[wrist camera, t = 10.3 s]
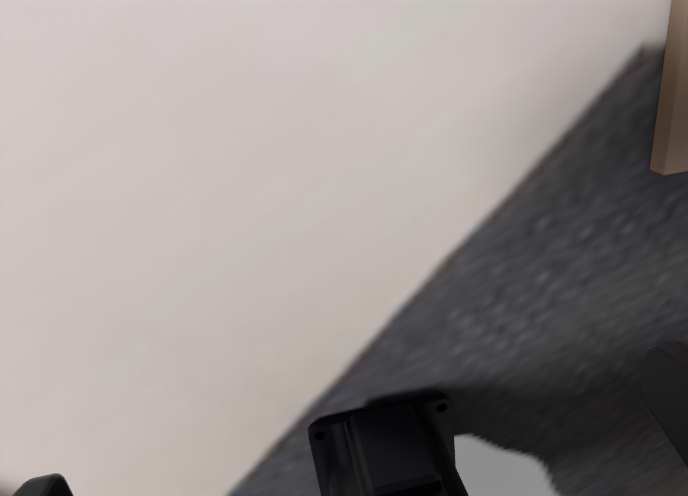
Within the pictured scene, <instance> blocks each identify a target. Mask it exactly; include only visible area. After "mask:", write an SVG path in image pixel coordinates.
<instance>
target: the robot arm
mask: <svg viewBox="0 0 688 496" xmlns="http://www.w3.org/2000/svg"><path fill="white" fill-rule="evenodd" d="M640 391H641V394H642V397H643V399H644V401H645V403H646V404H647V406H648V407H649V409H650V410H651V412H652V413H653V415H654V416H655V418H656V420H657V421H658V423H659V424H660V426H661V427H662V429H663V430H664V432H665V433H666V435H667V436H668V438H669V439H670V441H671V442H672V444H673V445H674V447H675V448H676V450H677V451H678V453H679V454H680V456H681V457H682V459H683V460H684V462H685V464H686V465H687V467H688V345H686V344H684V343H681V342H677V341H668V342H663V343H659V344H654V345H651V346H649V347H648V349H647V350H646V352H645V357H644V363H643V369H642V375H641V381H640ZM439 404H442V405H441V406H438V405H439ZM317 432H323V433H320V434H316V433H317ZM308 435H309V441H310V445H311V450H312V455H313V459H314V464H315V468H316V473H317V478H318V482H319V487H320V492H321V496H468V493H467V491H466V489H465V487H464V485H463V483H462V480H461V478H460V476H459V474H458V472H457V469H456V467H455V449H454V428H453V409H452V403H451V401H450V399H449V397H448V396H447V395H446V394H443V393H438V394H434V395H429V396H425V397H420V398H416V399H412V400H407V401H403V402H398V403H394V404H390V405H385V406H381V407H376V408H372V409H368V410H363V411H359V412H354V413H350V414H346V415H341V416H337V417H332V418H328V419H324V420H319V421H316V422H313V423H312V424H311V425H310V426H309V428H308ZM12 496H73V494H72V492H71V490H70V488H69V486H68V484H67V482H66V480H65V478H64V477H63V476H62V475H61V474H56V473H55V474H50V475H45V476H41V477H36V478H32V479H30V480H28V481H26V482H25V483H24V484H23V485H22V486H21V487H20V488H19V489H18V490H17V491H16V492H15V493H14V494H13V495H12Z"/></svg>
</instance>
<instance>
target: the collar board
mask: <svg viewBox="0 0 688 496" xmlns="http://www.w3.org/2000/svg"><path fill="white" fill-rule="evenodd" d="M650 170H652V171H655V172H657V173H659V174H662V175H669V174H674V173H679V172H684V171H688V0H672V3H671V11H670V18H669V26H668V34H667V41H666V49H665V56H664V64H663V72H662V79H661V87H660V94H659V102H658V110H657V117H656V125H655V132H654V140H653V147H652V155H651V163H650Z"/></svg>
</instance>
